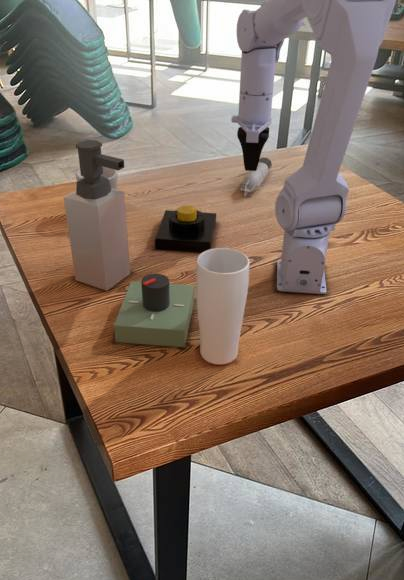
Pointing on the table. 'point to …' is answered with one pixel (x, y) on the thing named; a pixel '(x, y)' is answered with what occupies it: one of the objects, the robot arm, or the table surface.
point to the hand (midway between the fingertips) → (250, 169)
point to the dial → (155, 292)
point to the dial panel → (155, 318)
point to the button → (186, 213)
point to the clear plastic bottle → (256, 176)
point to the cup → (107, 173)
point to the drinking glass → (221, 302)
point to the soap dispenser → (97, 221)
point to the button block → (186, 232)
